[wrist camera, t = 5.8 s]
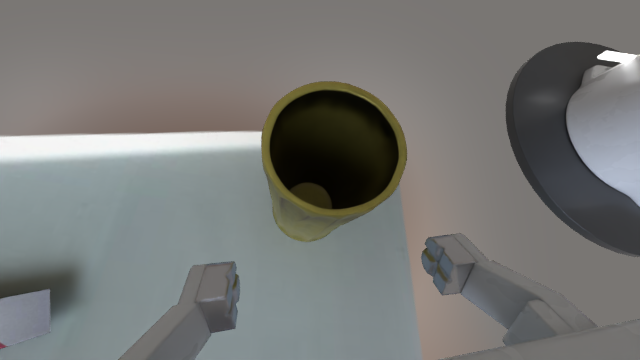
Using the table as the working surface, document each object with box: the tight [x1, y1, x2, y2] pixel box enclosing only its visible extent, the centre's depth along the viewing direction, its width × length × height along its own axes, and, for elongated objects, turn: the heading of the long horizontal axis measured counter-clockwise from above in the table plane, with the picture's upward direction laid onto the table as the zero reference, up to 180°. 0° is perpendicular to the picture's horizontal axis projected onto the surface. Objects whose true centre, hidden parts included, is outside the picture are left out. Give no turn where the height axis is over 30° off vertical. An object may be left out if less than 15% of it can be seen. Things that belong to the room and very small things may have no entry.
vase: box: [261, 82, 407, 242], centre depth 15 cm, size 6×6×14 cm
